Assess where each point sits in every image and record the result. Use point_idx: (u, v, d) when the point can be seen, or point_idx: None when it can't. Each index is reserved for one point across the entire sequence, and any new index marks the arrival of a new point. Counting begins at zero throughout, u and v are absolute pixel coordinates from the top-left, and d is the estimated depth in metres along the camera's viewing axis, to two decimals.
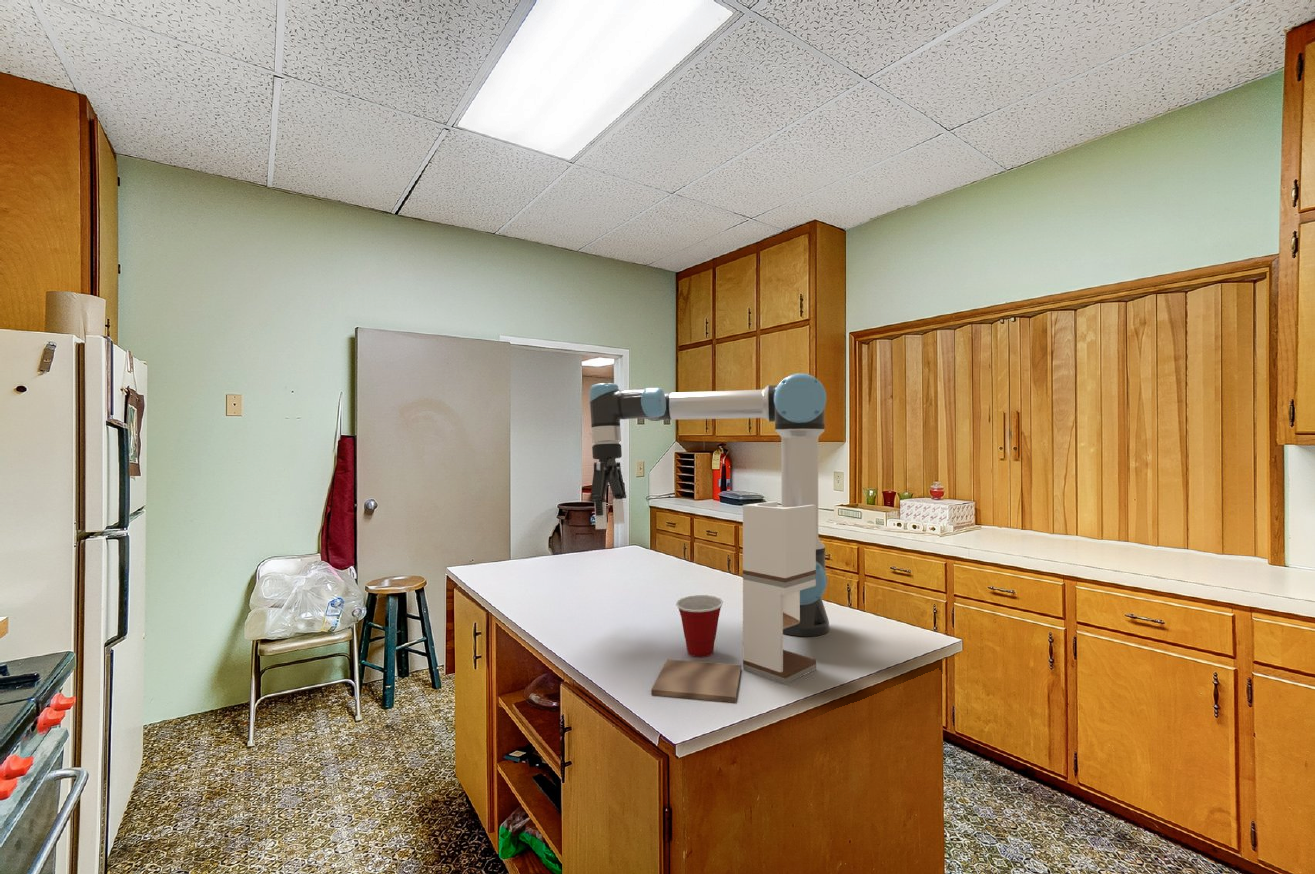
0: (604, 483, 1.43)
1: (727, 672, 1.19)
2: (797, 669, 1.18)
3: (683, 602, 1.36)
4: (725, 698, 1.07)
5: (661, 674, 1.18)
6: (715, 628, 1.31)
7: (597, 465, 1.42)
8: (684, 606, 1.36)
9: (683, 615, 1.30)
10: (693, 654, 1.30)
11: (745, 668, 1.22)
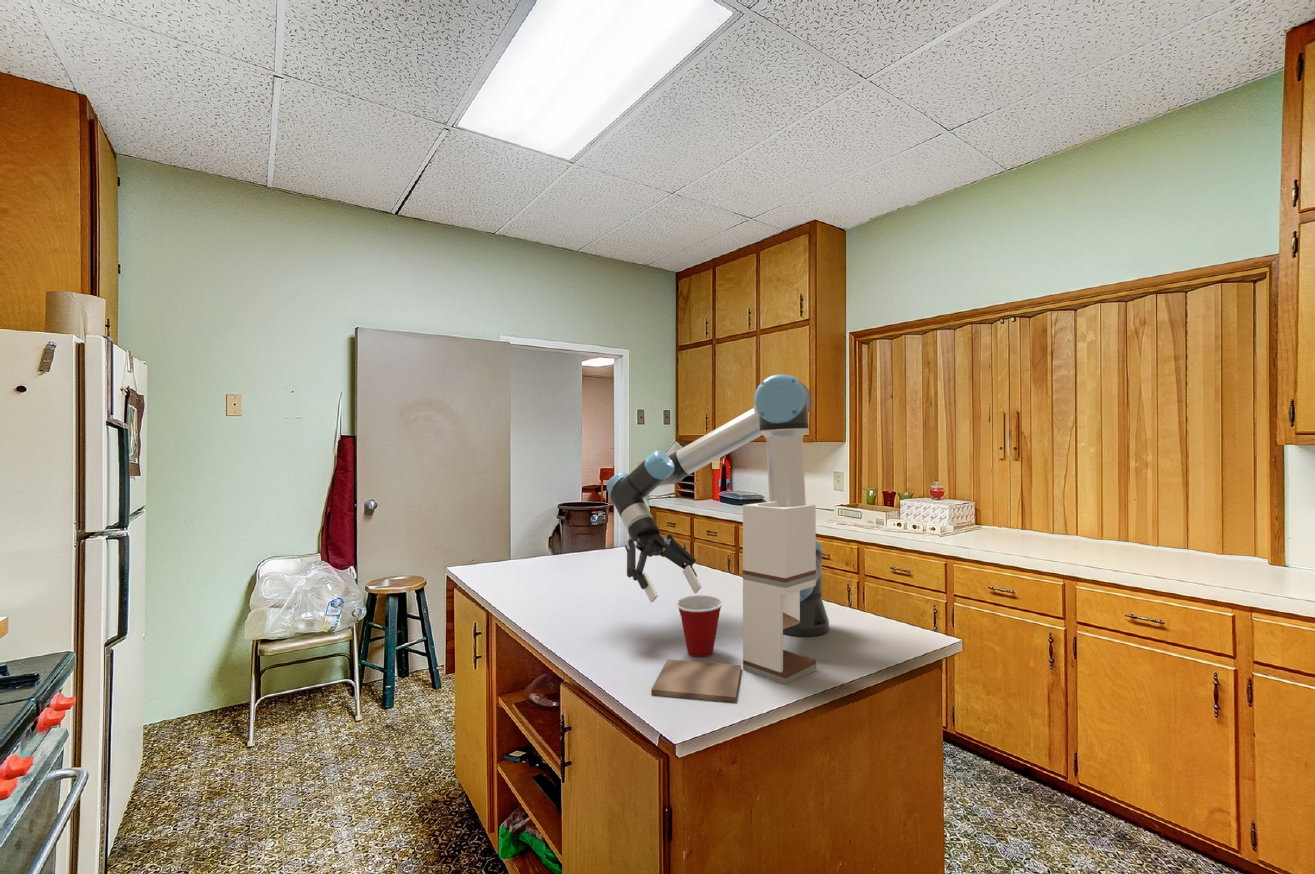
0: (641, 557, 1.41)
1: (727, 672, 1.19)
2: (797, 669, 1.18)
3: (683, 602, 1.36)
4: (725, 698, 1.07)
5: (661, 674, 1.18)
6: (715, 628, 1.31)
7: (627, 545, 1.43)
8: (684, 606, 1.36)
9: (683, 615, 1.30)
10: (693, 654, 1.30)
11: (745, 668, 1.22)
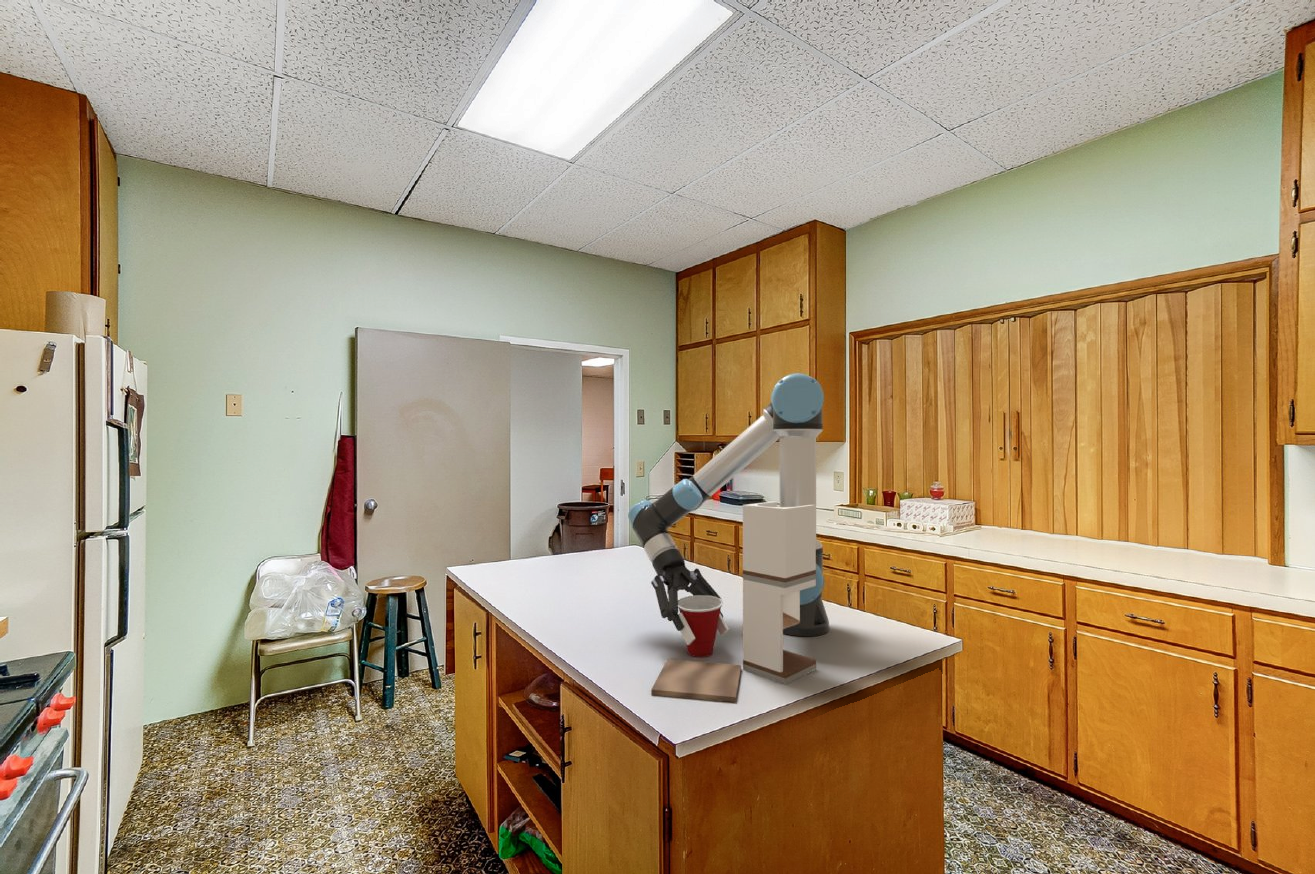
0: (672, 594, 1.34)
1: (727, 672, 1.19)
2: (797, 669, 1.18)
3: (683, 602, 1.36)
4: (725, 698, 1.07)
5: (661, 674, 1.18)
6: (715, 628, 1.31)
7: (653, 582, 1.35)
8: (684, 606, 1.36)
9: None
10: (693, 654, 1.30)
11: (745, 668, 1.22)
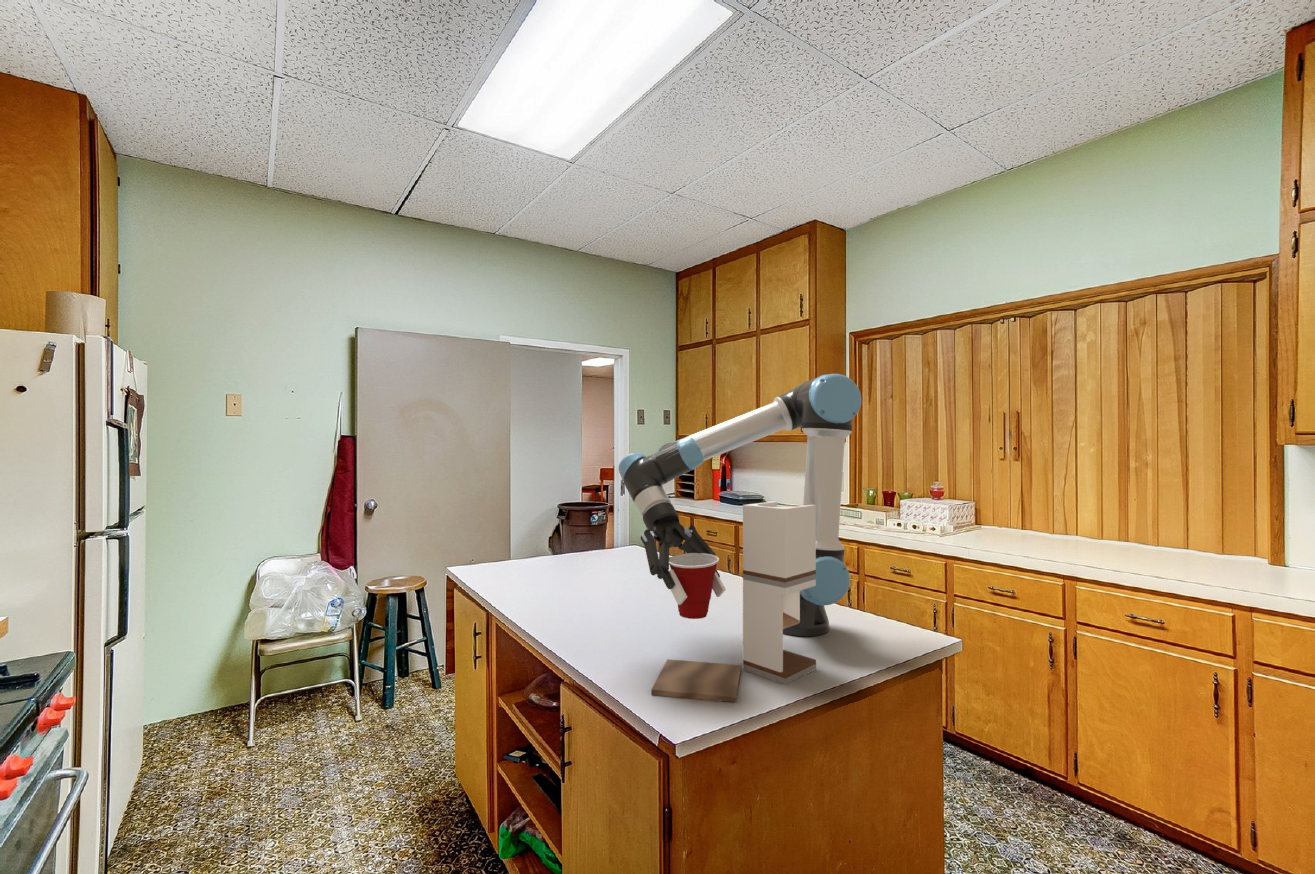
0: (663, 550, 1.21)
1: (727, 672, 1.19)
2: (797, 669, 1.18)
3: (675, 559, 1.23)
4: (725, 698, 1.07)
5: (661, 674, 1.18)
6: (710, 587, 1.18)
7: (643, 537, 1.22)
8: (676, 564, 1.23)
9: None
10: (685, 616, 1.17)
11: (745, 668, 1.22)
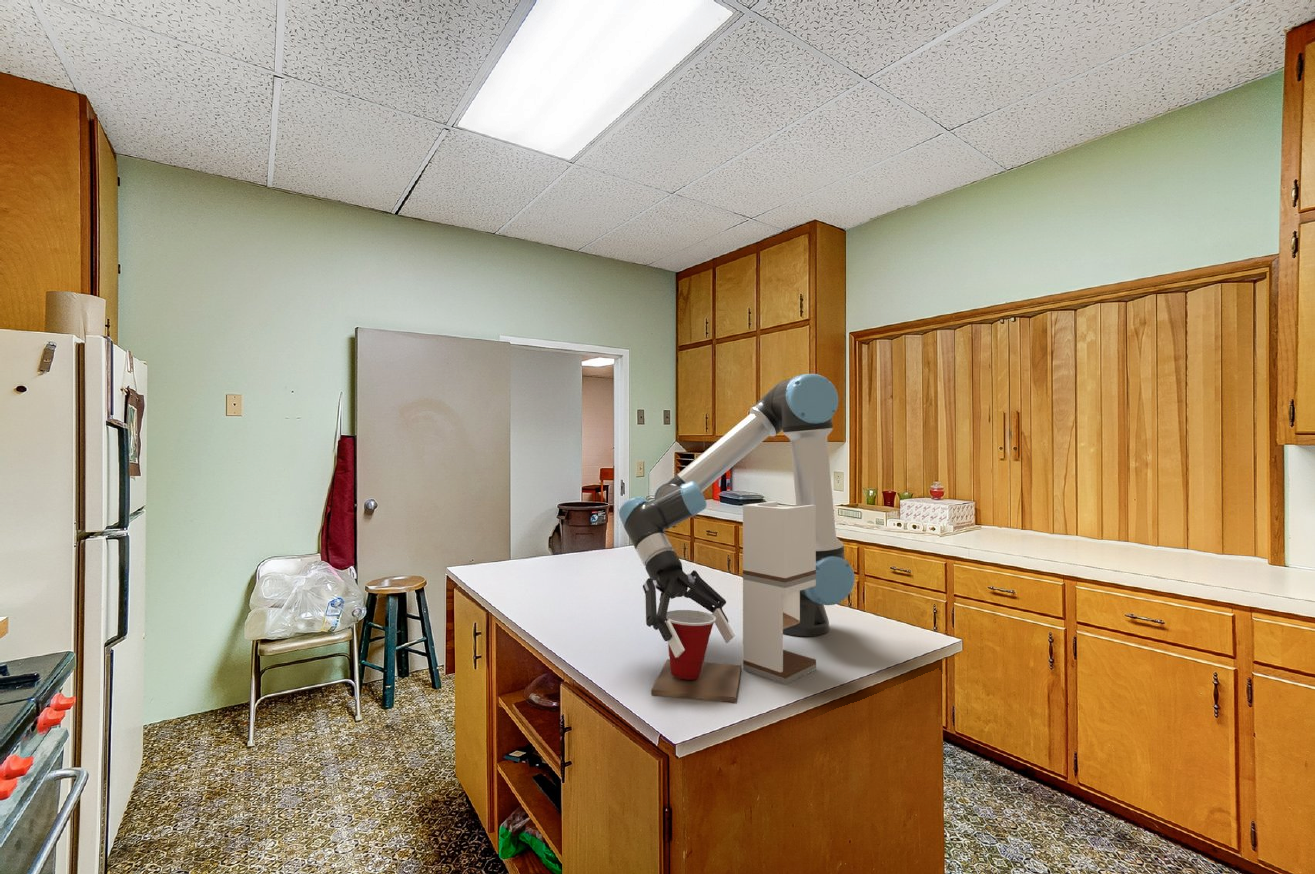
0: (663, 600, 1.17)
1: (727, 672, 1.19)
2: (797, 669, 1.18)
3: (671, 615, 1.20)
4: (725, 698, 1.07)
5: (661, 674, 1.18)
6: (705, 647, 1.15)
7: (645, 585, 1.20)
8: None
9: None
10: (677, 675, 1.14)
11: (745, 668, 1.22)
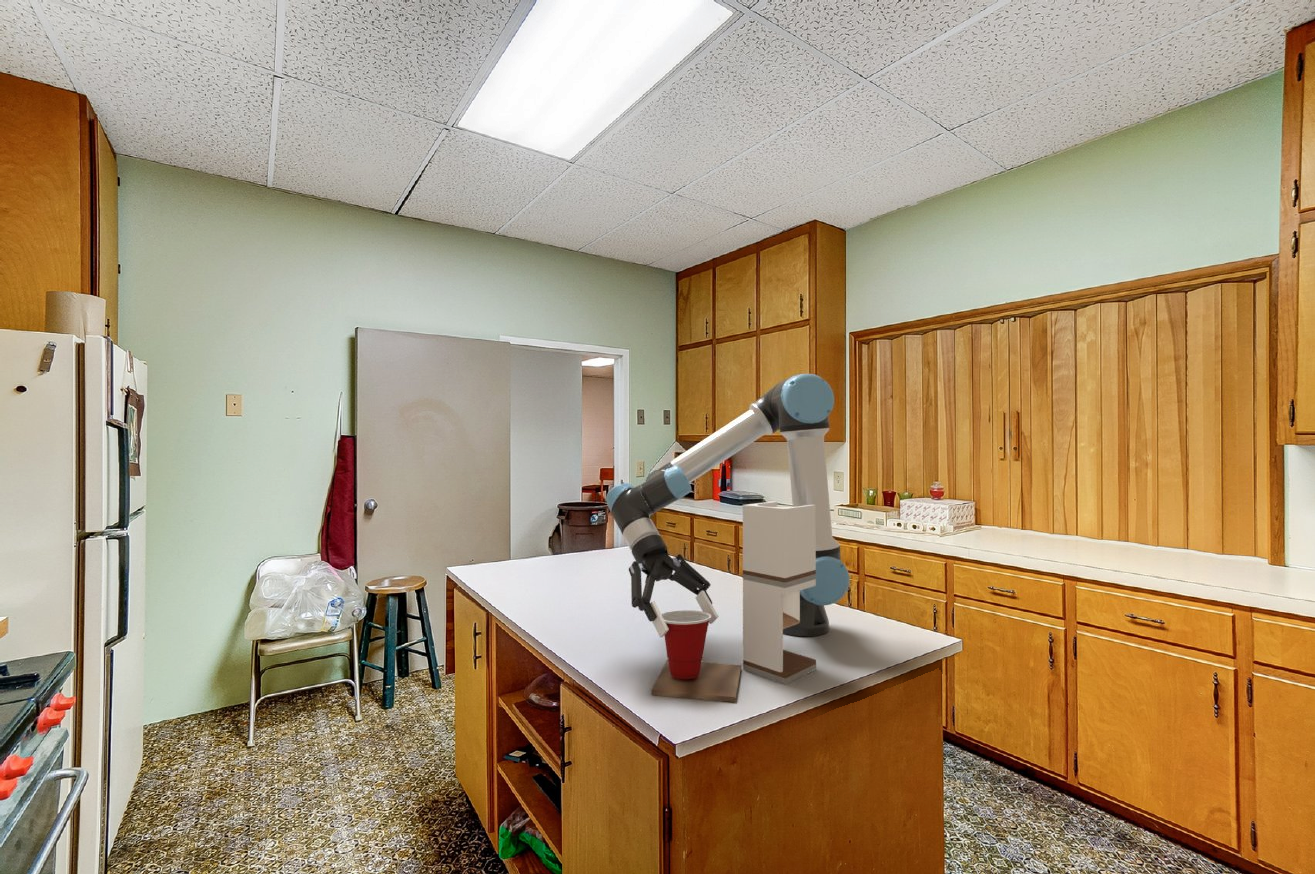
0: (648, 582, 1.20)
1: (727, 672, 1.19)
2: (797, 669, 1.18)
3: (667, 617, 1.21)
4: (725, 698, 1.07)
5: (661, 674, 1.18)
6: (702, 645, 1.15)
7: (631, 568, 1.22)
8: None
9: None
10: (676, 675, 1.14)
11: (745, 668, 1.22)
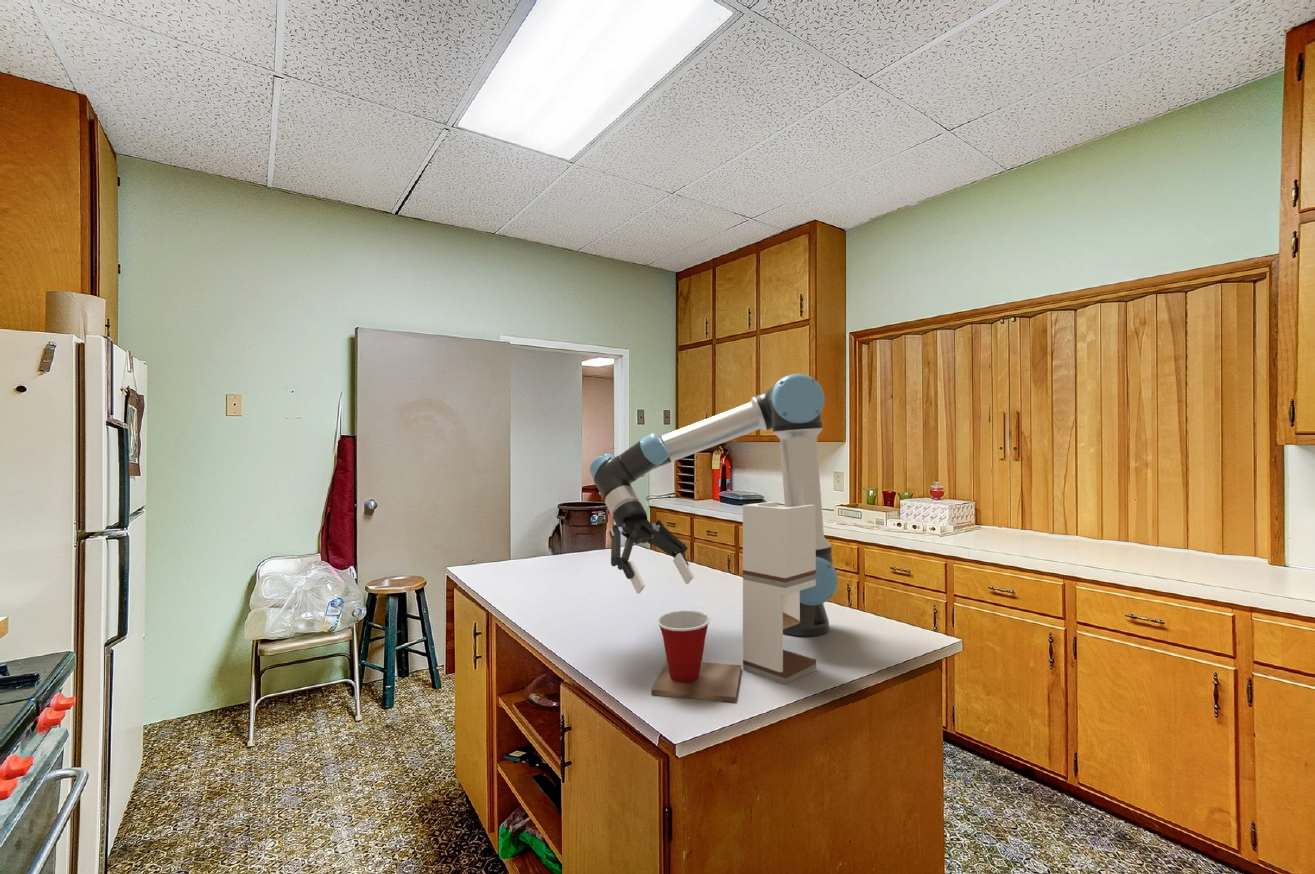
0: (627, 544, 1.28)
1: (727, 672, 1.19)
2: (797, 669, 1.18)
3: (665, 619, 1.19)
4: (725, 698, 1.07)
5: (661, 674, 1.18)
6: (701, 649, 1.14)
7: (611, 531, 1.30)
8: (667, 623, 1.19)
9: (664, 634, 1.14)
10: (676, 679, 1.14)
11: (745, 668, 1.22)
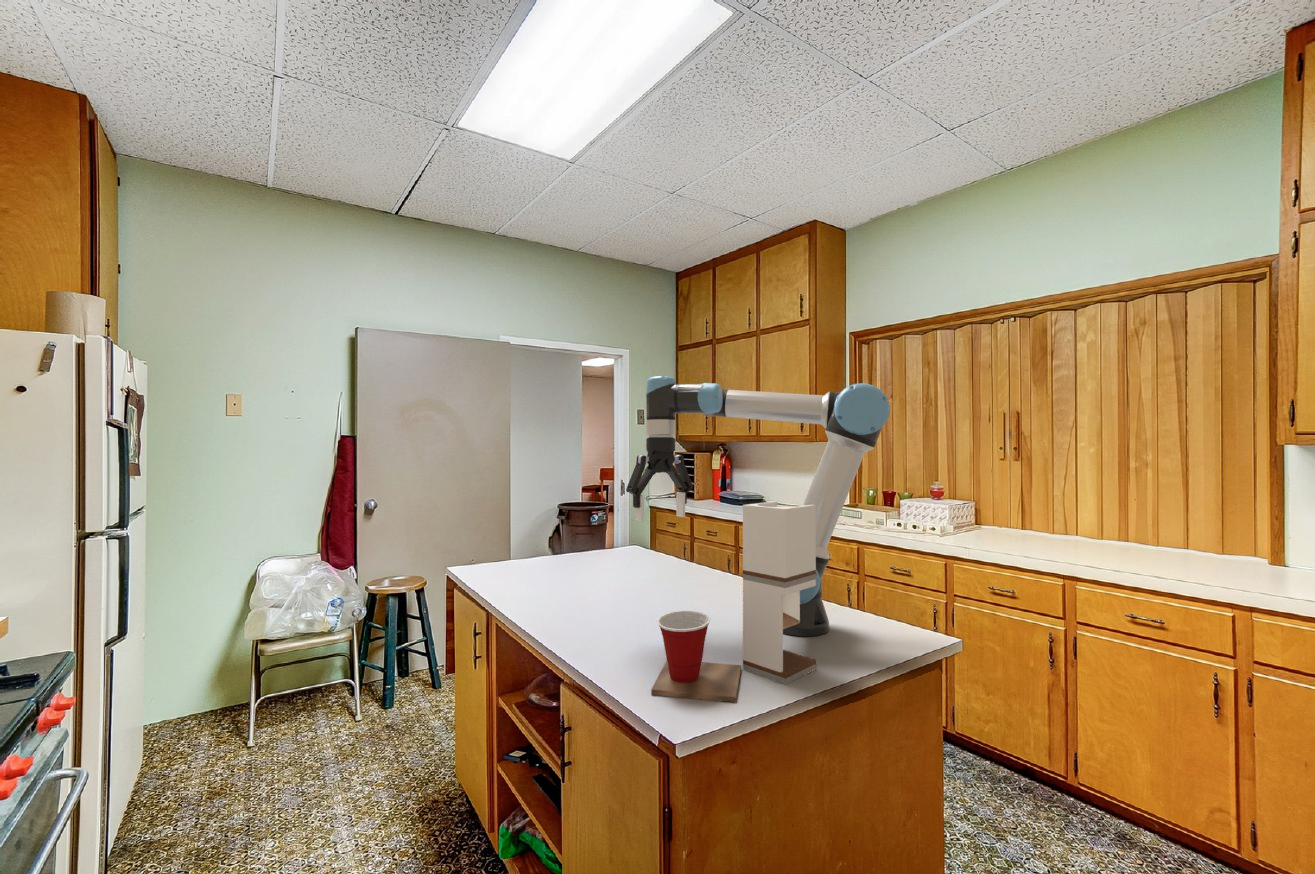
0: (646, 476, 1.46)
1: (727, 672, 1.19)
2: (797, 669, 1.18)
3: (665, 619, 1.19)
4: (725, 698, 1.07)
5: (661, 674, 1.18)
6: (701, 649, 1.14)
7: (638, 458, 1.45)
8: (667, 623, 1.19)
9: (664, 634, 1.14)
10: (676, 679, 1.14)
11: (745, 668, 1.22)
